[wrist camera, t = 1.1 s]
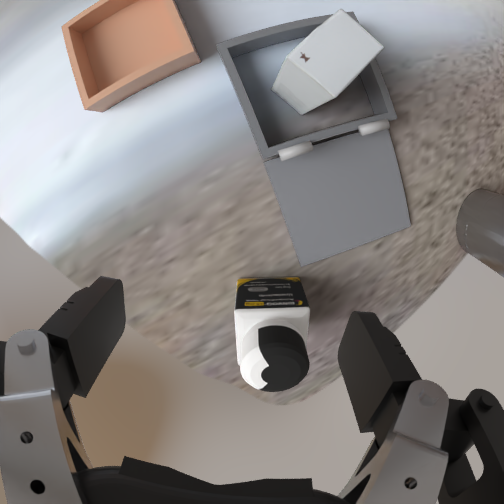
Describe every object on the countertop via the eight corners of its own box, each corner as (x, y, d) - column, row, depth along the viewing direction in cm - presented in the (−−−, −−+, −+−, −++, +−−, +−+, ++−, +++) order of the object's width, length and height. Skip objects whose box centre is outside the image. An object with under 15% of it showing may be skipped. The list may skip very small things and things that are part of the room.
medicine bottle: (299, 275, 33) (321, 340, 22) (296, 326, 36) (312, 397, 25) (237, 277, 33) (230, 344, 22) (239, 328, 36) (236, 401, 25)
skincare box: (302, 117, 27) (334, 100, 16) (270, 89, 26) (282, 56, 15) (338, 78, 25) (387, 47, 14) (307, 52, 24) (339, 5, 13)
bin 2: (343, 23, 23) (355, 8, 19) (408, 224, 31) (426, 236, 27) (219, 54, 25) (214, 41, 21) (300, 264, 33) (306, 281, 29)
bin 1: (168, -15, 21) (158, -30, 17) (201, 62, 25) (194, 51, 21) (78, 35, 22) (61, 26, 19) (102, 112, 26) (84, 109, 23)
